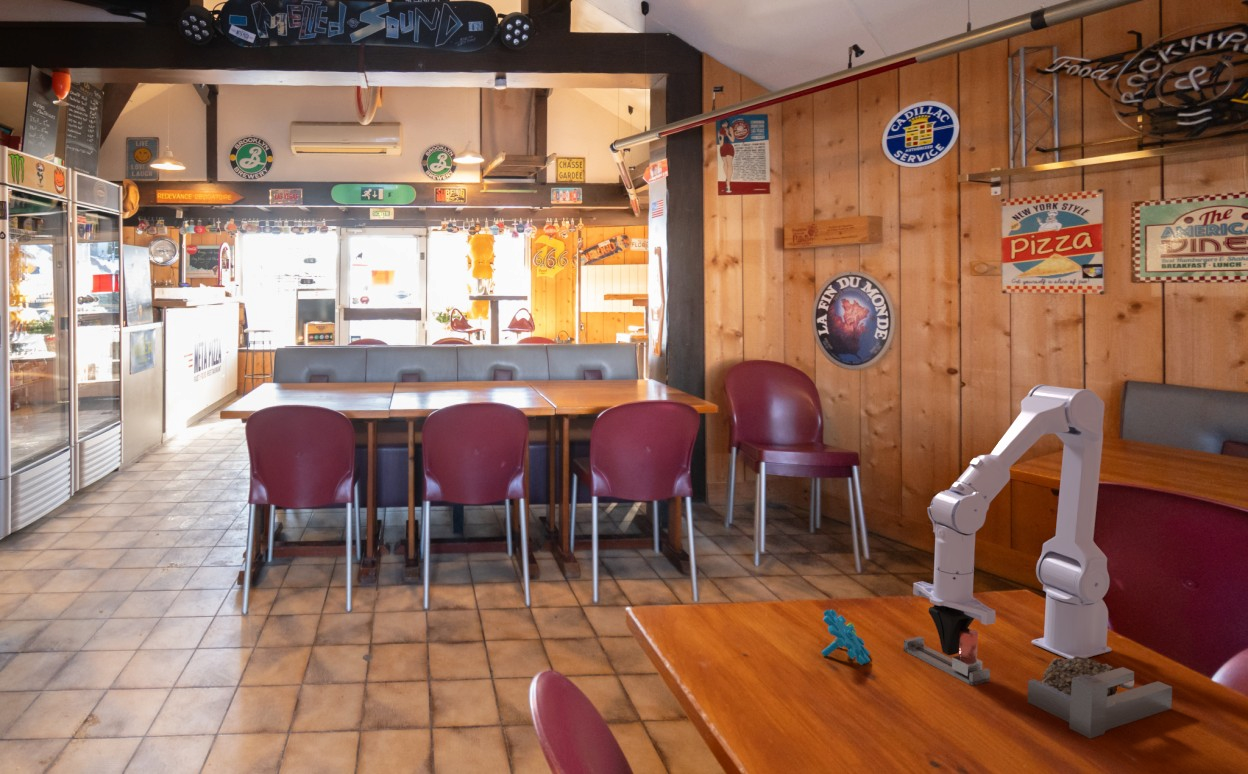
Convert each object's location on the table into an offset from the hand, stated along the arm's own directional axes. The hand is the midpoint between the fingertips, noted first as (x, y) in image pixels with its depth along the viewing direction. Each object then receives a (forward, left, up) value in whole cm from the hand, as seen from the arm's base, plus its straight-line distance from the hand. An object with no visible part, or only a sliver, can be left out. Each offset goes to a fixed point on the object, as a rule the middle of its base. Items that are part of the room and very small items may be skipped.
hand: (950, 652), depth 128 cm
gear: (+12, -10, -3) cm, 16 cm away
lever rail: (0, -1, -2) cm, 3 cm away
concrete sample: (-8, +16, -3) cm, 18 cm away
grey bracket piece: (-9, +18, -2) cm, 20 cm away
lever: (0, +3, -2) cm, 4 cm away
